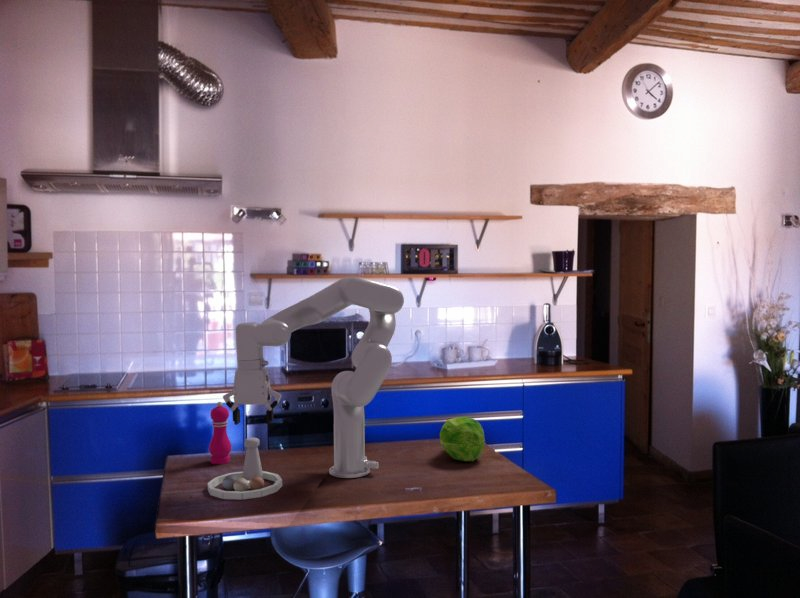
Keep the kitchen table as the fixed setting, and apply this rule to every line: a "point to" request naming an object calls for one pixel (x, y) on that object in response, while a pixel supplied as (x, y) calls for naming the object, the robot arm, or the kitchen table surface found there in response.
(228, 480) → the dusty blue bead
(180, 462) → the kitchen table surface
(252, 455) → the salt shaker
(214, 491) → the tray
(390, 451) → the kitchen table surface
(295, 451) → the kitchen table surface
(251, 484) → the bead terracotta
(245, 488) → the bead cream
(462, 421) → the lettuce
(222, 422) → the pepper mill
